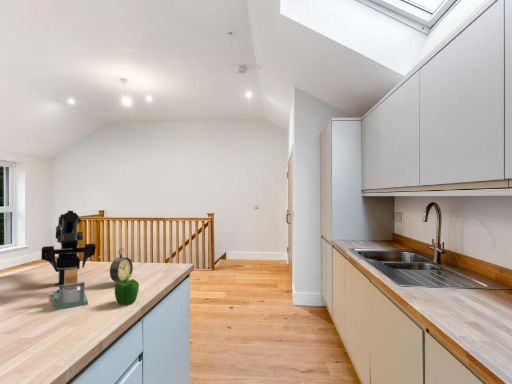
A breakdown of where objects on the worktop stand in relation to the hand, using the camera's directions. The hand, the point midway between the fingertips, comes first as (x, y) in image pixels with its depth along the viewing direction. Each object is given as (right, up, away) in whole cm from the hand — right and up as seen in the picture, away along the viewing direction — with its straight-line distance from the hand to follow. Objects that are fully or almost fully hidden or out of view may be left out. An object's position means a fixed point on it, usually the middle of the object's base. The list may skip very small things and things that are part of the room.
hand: (69, 268), depth 115 cm
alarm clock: (+13, -11, +16) cm, 23 cm away
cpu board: (+3, -10, -5) cm, 12 cm away
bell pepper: (+26, -11, -7) cm, 29 cm away
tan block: (+6, -9, -9) cm, 14 cm away
